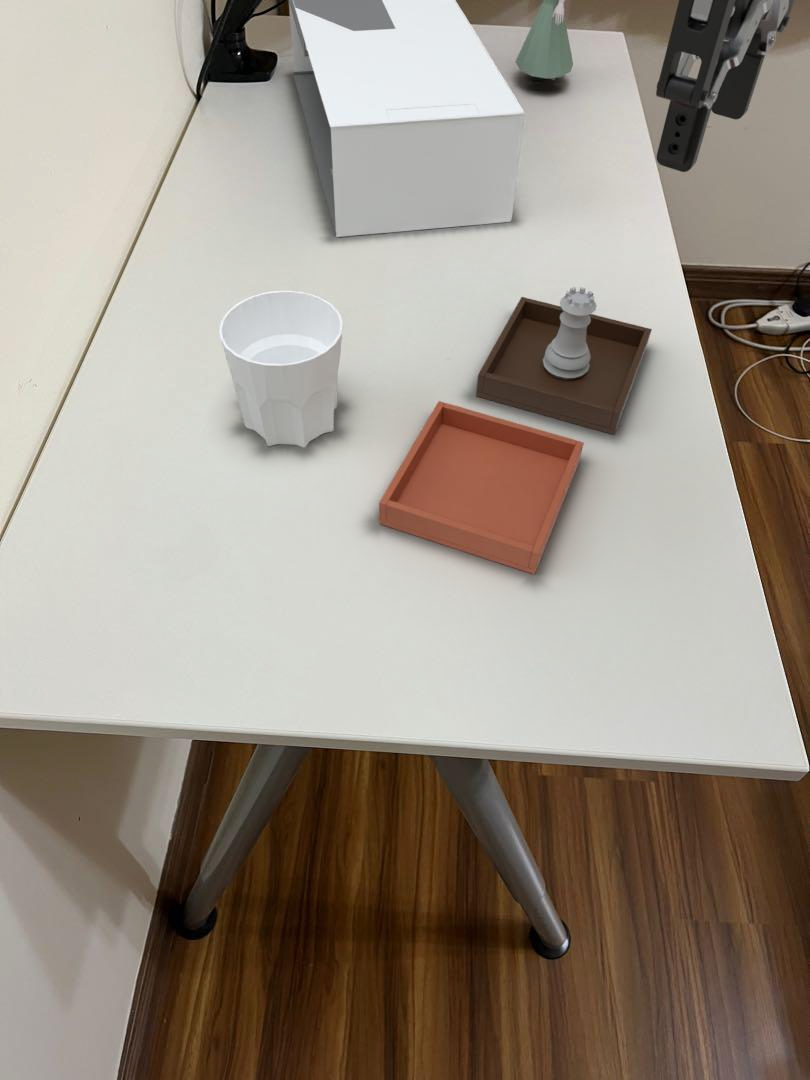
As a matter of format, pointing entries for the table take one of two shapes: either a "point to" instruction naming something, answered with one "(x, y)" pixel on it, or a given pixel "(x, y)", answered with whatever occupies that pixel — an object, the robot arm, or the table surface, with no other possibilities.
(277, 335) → the cup
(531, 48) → the character figurine
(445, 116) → the white box
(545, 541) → the terracotta tray
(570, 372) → the rook chess piece
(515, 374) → the walnut tray
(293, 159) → the table surface
